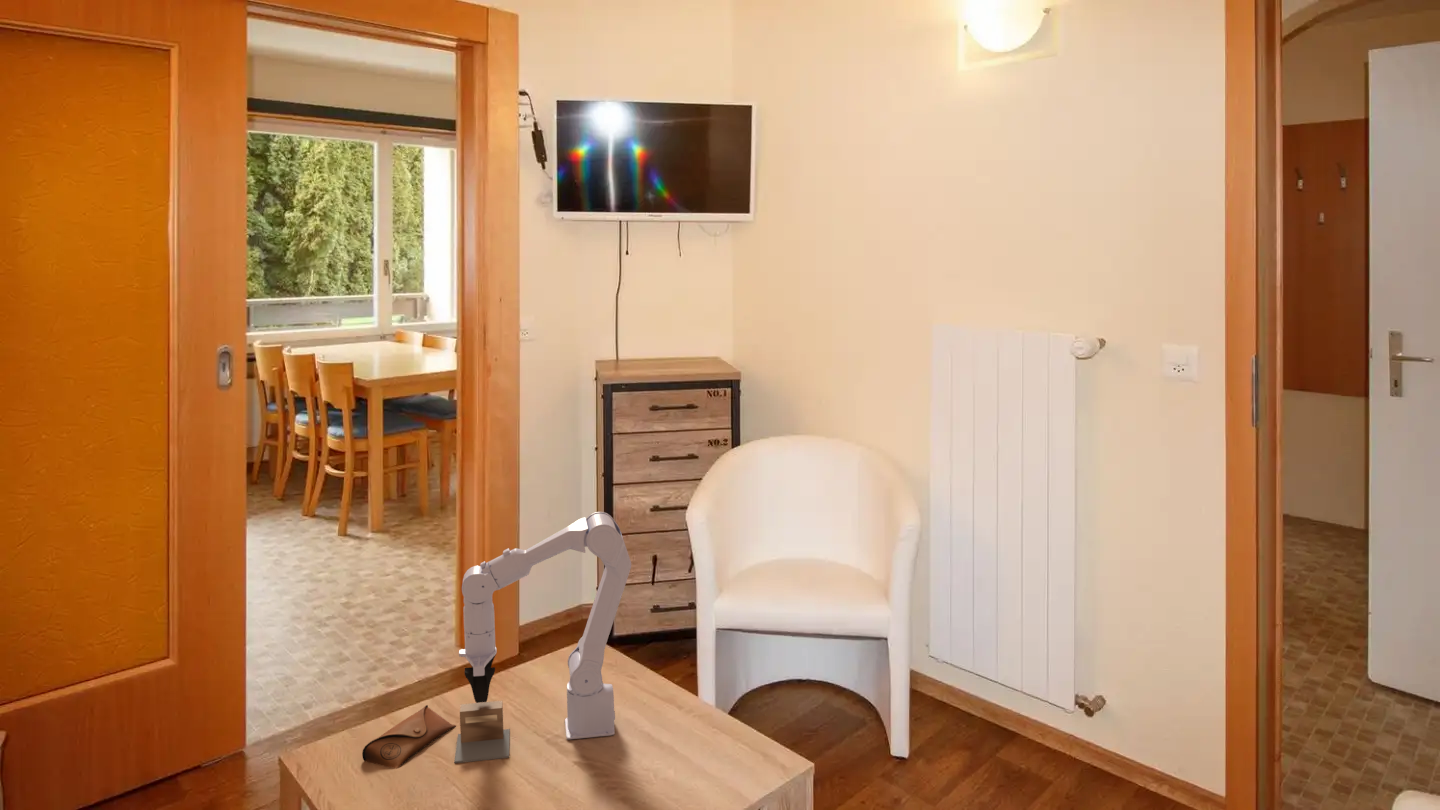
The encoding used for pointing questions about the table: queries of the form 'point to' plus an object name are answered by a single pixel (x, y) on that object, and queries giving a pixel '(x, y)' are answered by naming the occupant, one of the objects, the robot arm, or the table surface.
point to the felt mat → (482, 749)
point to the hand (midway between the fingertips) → (482, 694)
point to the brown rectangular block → (481, 721)
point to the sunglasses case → (406, 738)
